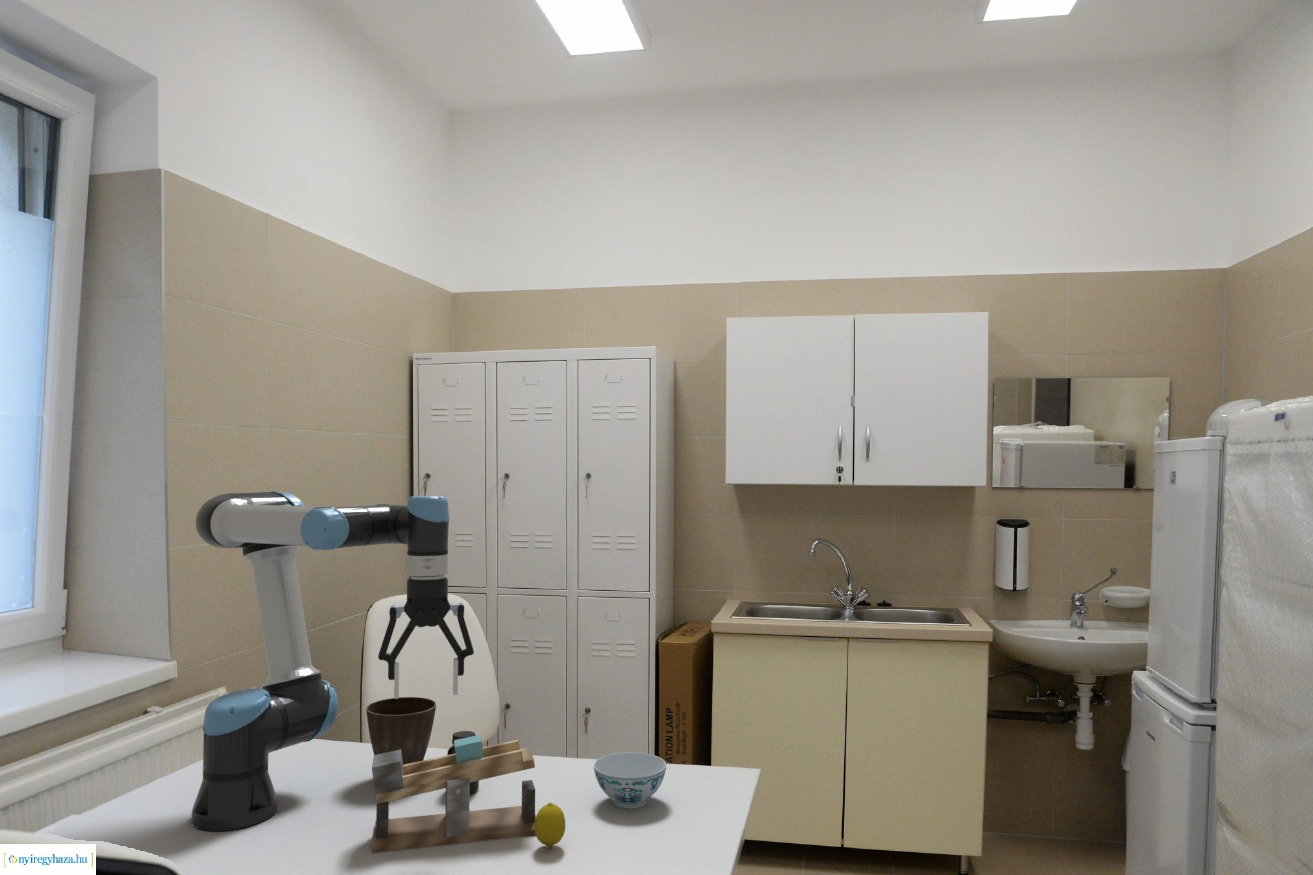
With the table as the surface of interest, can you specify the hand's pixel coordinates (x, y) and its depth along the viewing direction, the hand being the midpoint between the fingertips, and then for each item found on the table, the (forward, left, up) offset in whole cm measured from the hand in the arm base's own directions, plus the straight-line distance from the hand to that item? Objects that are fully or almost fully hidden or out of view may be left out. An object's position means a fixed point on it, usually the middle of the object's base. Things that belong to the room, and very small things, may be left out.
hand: (426, 694), depth 162 cm
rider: (+8, 0, -14) cm, 17 cm away
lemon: (+22, -12, -26) cm, 36 cm away
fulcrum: (+6, 0, -26) cm, 26 cm away
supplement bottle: (+8, +20, -26) cm, 34 cm away
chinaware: (+41, +5, -26) cm, 49 cm away
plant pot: (-5, +31, -26) cm, 41 cm away
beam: (+6, 0, -17) cm, 18 cm away
